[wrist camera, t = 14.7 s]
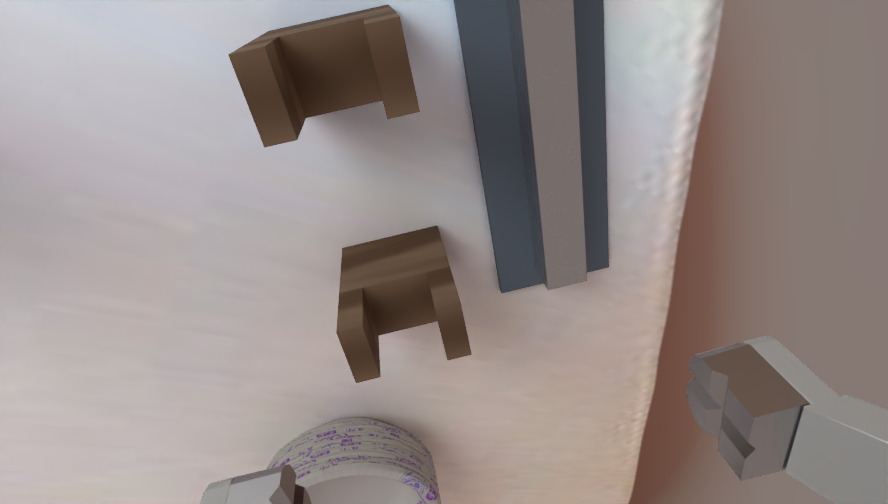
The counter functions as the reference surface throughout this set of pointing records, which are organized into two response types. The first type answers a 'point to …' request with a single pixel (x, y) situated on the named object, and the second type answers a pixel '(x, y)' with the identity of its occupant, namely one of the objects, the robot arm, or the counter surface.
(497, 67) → the mat
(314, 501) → the paper bowls
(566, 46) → the rail
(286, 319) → the counter surface
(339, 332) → the cradles
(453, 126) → the counter surface
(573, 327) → the counter surface
